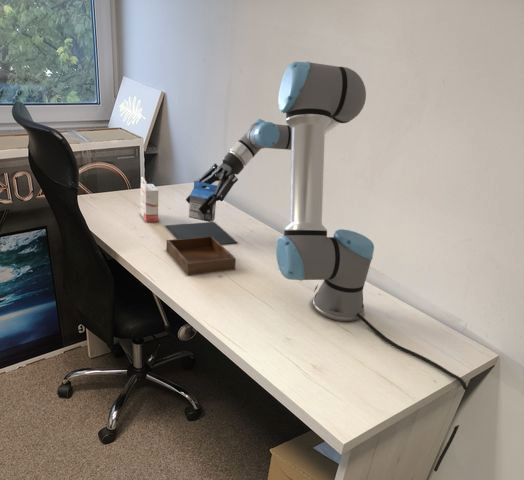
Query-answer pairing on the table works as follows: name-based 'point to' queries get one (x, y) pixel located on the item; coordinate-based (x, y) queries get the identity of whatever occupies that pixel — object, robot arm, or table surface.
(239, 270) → the table surface
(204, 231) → the mat
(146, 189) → the ink cartridge box
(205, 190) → the blue gray retail box
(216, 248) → the wooden tray
